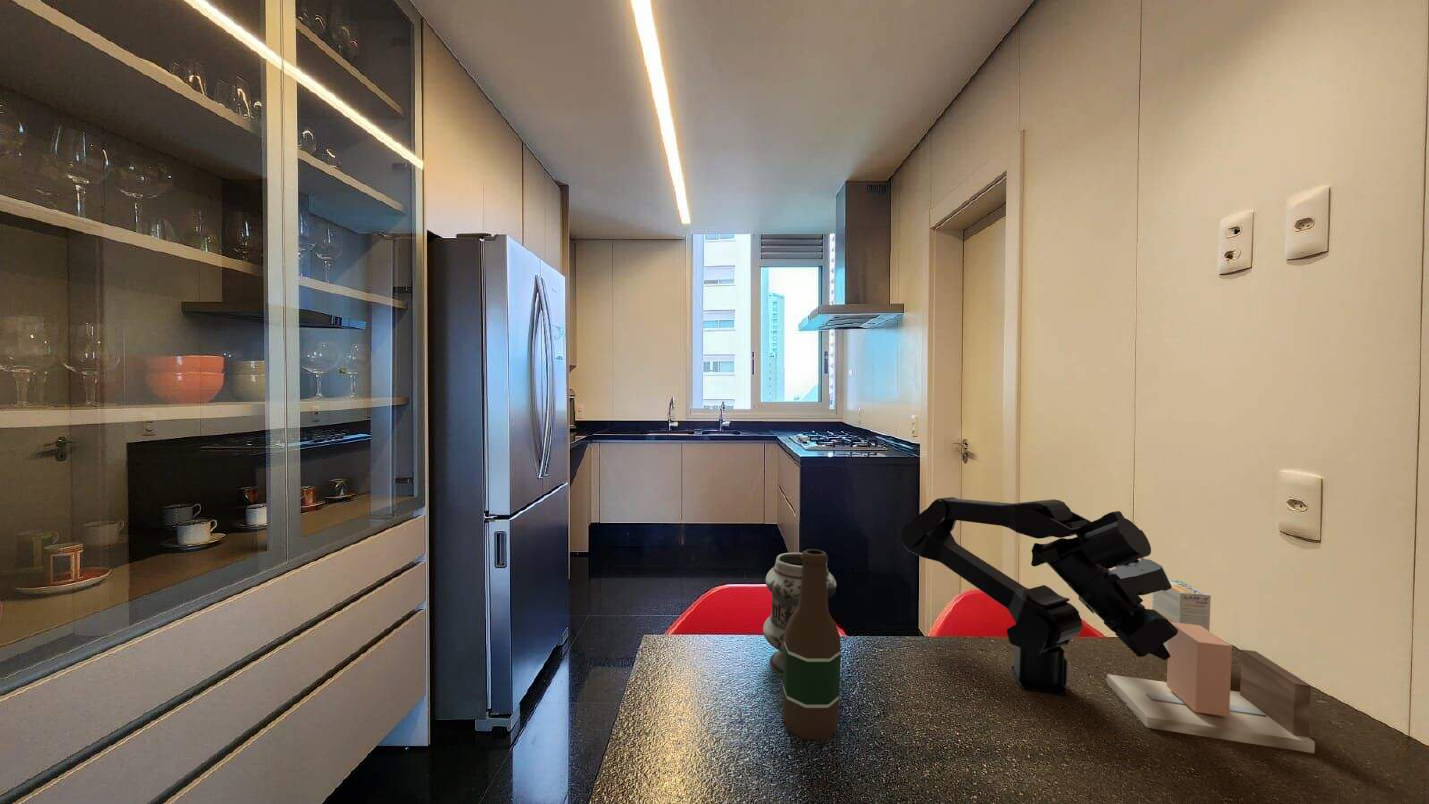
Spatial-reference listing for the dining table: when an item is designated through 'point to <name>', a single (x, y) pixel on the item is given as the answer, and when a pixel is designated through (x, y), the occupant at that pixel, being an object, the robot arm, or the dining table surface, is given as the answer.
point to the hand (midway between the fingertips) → (1166, 657)
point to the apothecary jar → (785, 601)
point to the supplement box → (1183, 605)
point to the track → (1231, 707)
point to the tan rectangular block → (1200, 669)
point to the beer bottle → (811, 657)
